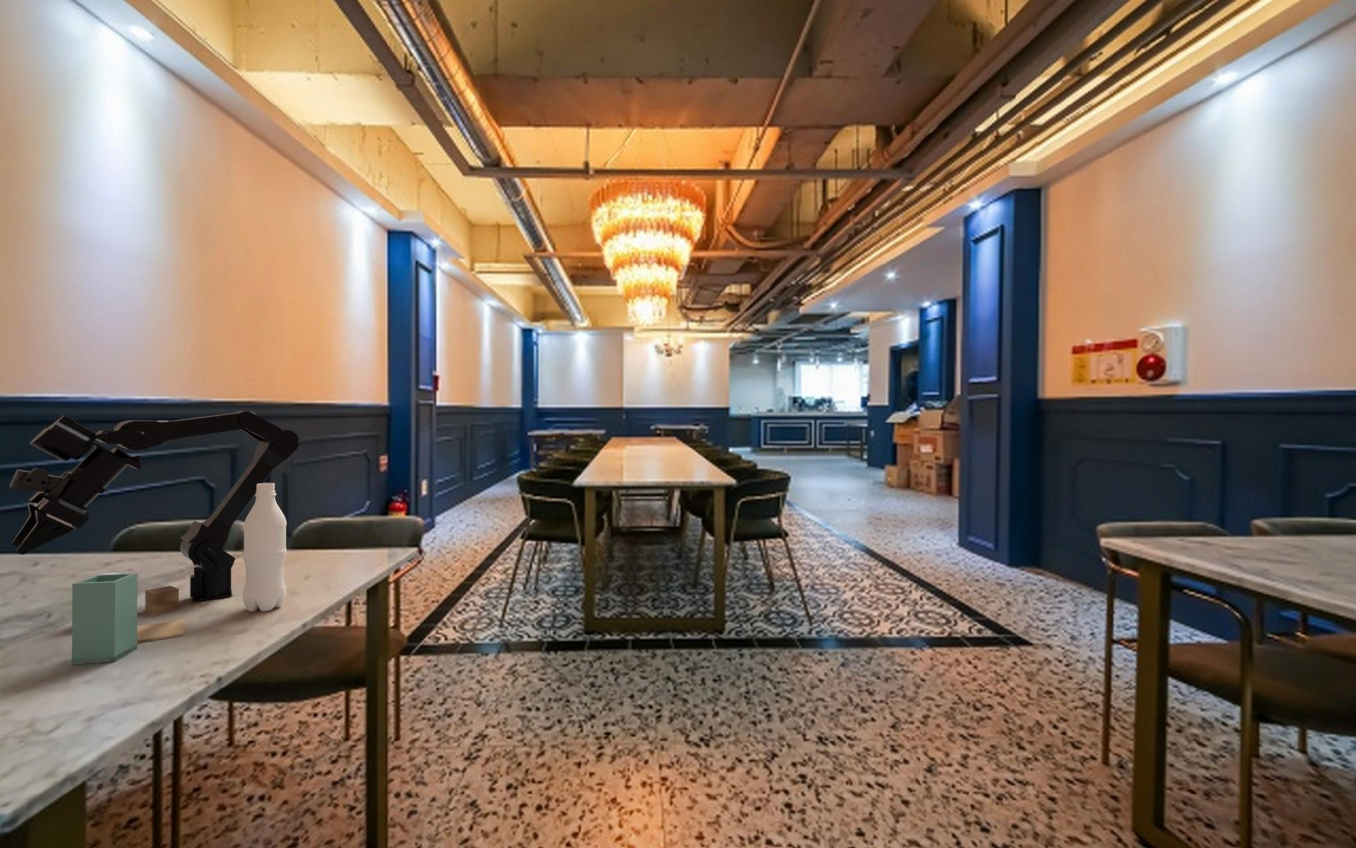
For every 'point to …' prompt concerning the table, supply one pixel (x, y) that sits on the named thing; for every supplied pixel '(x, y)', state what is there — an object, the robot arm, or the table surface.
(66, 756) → the table surface
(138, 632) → the coaster
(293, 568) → the table surface
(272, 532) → the water bottle
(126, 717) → the table surface
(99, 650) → the pot
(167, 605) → the walnut block
